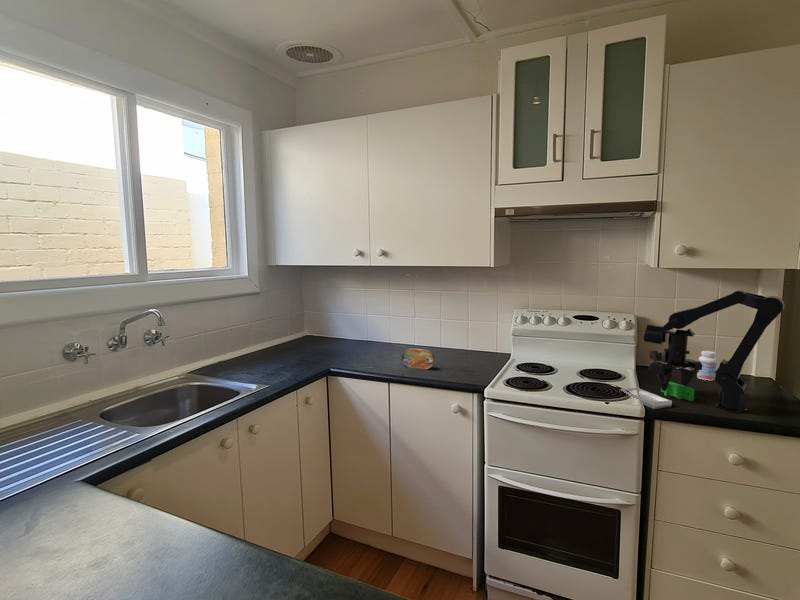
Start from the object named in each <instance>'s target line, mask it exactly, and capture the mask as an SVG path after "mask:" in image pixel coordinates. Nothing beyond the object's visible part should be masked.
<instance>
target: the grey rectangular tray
mask: <svg viewBox="0 0 800 600" xmlns="http://www.w3.org/2000/svg"><path fill="white" fill-rule="evenodd" d="M620 390H621V391H623V392H624V393H626V394H628V395H629V396H631V397H633V398H636V399H639V400H640V401H641V402H642V403H643V404H644V405H643V404H642V405H643V406H646V407H648V408H651V409H653V410H657V409H663V408H670V407H672V404H673V401H672V400H671V399H668V398H666V397H662V396H660V395H658V394H655V393H652V392H650V391H647V390H645V389H641V388H639V387H627V388H620V389H619V391H620ZM633 390H638V391H639V395H640V397H639V396H637V395H634V394H632V393H629V392H627V391H633Z"/></svg>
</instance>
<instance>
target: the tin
mask: <svg viewBox="0 0 800 600" xmlns="http://www.w3.org/2000/svg"><path fill="white" fill-rule="evenodd" d="M401 361H402V364H404V366H406V367H407V368H411V369H418V370H419V369H420V370H429V369H430V368H432V367H433V366H434V365H435V363H436V362H435V361H436V357H435V354H434V353H433V352H432V351H431V350H429V349H420V348H414V347H413V348H412V347H410V348H407V349H404V351H402V354H401Z"/></svg>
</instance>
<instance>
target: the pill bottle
mask: <svg viewBox="0 0 800 600" xmlns="http://www.w3.org/2000/svg"><path fill="white" fill-rule="evenodd" d="M700 354H701V356H700V357H698V361H699V362H701V364H702V370H698V371H699V372H698V373H697V374H696V378H697V379H699V380H701V379H702V381H706V380H708V381H707V382H709V381H710V382H711V381H712V382H714V381H716V379H715V376H716V374H717V373H715V371H716V370H717V361H718V360H717V358H716V352H714V351H711V350H702V351H701V352H700ZM713 380H714V381H713Z"/></svg>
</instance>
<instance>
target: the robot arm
mask: <svg viewBox="0 0 800 600" xmlns="http://www.w3.org/2000/svg"><path fill="white" fill-rule="evenodd" d="M738 304H739V305H743V306H746V307H748V308H752V309H755V310H756V312H755V316H754V319H753V320H752V321H753V322H752V323H751V325H750V326H749V328H748V330H747V331H746V333H745V335H744V336H743V338H742V340H741V341H740V343H739V345H738V346H737V347H736V349H735V351H734V352H733V354H732V356H731V358H730V359H729V360H726V358H725V359H724V358H723V359H722V361H720V363H719V365H718V367H717V368H716V371H715V373H716V374H715V381H716V383H717V385H719V386H720V387H721V388H720V391H719V393H718V401H717V403H718V404H715V408H719V409H721V410H725V411H727V412H731V413H734V414H737V413H745V412H749V408H746V404H747V403H746V402H747V394H748V393H747V392H745V389H746V387H747V385H748V383H746V382H745V381H744V380H743V379H742V378H741V377H740V376H741V374H742V370H743V368H744V365H745V362H746V361H747V359H748V357H749V356H750V354H751V353H752V351H753V349H754V348H755V346H756V344H758V341H759V339H760V338H761V337H762V335H763V334H764V332H765V330H766V328H768V326H770V324H771V323H772V322H773V321H774V320H775V319H776V318H777V317H778V316H779V315H780V314H781V313H782V312H783V310H784V308H785V302H784V300H783V299H782V298H781V297H779V296H776V295H768V296H764V295H760V294H756V293H751V292H747V291H744V290H741V289H740V290H735V291H734V292H732V293H730V294H727V295H725V296H722V297H720V298H718V299H715V300H713V301H710V302H707V303H704V304H702V305H699V306H697V307H693V308H692V307H691V308H686V309H683V310H679V311H675V312H673V313H672V314H671V315H669V317H668V322H666V323H665V324H663V326H662V325H655V324H651V323H648V324H647V325H646V328H645V330H644V333H643V341H644V343H645V344H646V343H649V344H655V345H661V346H663V345H664V343H667V347H665V348H664V349H663V351H662V352H661V351H660V352H659V351H658V350H657V349H656V350H650V352H649V354H648V355H649V359H650V360H652V361H653V362H651V363H649V366H648V370H649V371H651V372H652V373H654V374H655V375H656V377H657V378H658V381H659V385H660V389H661V388H662V390H663V391H666V389H667V387H668V384H669V382H671V378H672V375H673V374H672V372H673V370H677V369H678V370H679V371H680V373H681V376H680V377H681V378H680V379H681V384H680V385H683V386H687V387H688V386H689V384H690V383H691V381H692V380H693V378H694V377H696V376H697V373H698V372H699V371H698V370H702V364H701V362H699V360H694V359H691V358H687V355H690V352H691V351H690V350H688V341H689V340H688V339H689V337H694V336H695V335H696V333H695V332H694V331H693V330H692V329H691V328H690V327H689V328H688V329H684V328H686V327H687V326H690V325H691V324H692V323H695V322H696V321H698V320H700V319H701V318H704V317H707V316H709V315H711V314H713V313H717V312H719V311H723V310H724V309H728V308H730V307H732V306H735V305H738ZM673 329H676V331H674V330H673Z"/></svg>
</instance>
